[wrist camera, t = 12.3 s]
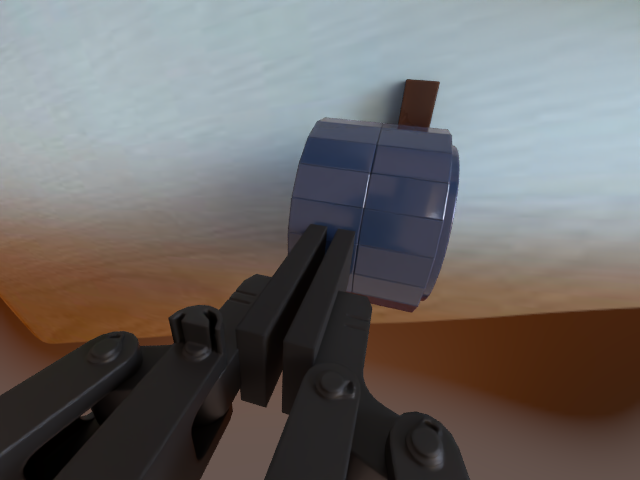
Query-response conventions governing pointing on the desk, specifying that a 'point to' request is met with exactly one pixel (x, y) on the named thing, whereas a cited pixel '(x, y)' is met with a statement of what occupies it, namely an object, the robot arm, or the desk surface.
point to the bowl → (380, 203)
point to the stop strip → (418, 102)
